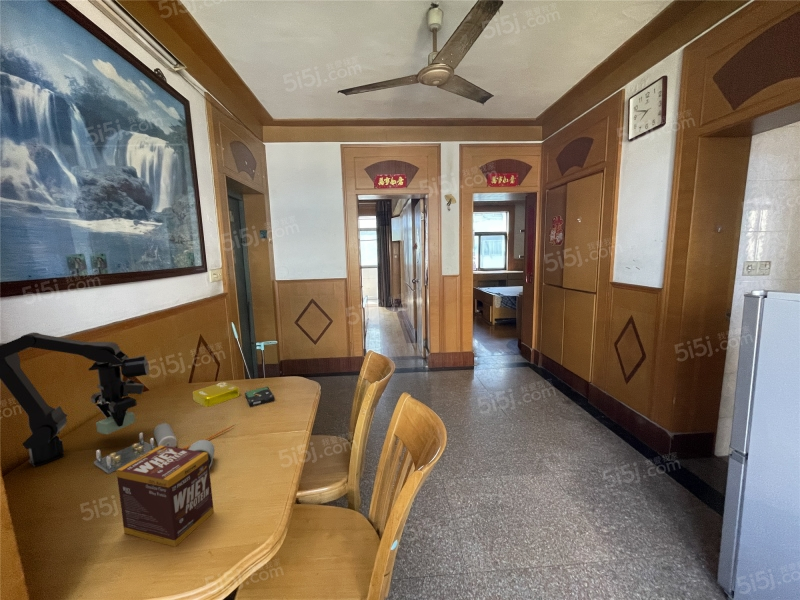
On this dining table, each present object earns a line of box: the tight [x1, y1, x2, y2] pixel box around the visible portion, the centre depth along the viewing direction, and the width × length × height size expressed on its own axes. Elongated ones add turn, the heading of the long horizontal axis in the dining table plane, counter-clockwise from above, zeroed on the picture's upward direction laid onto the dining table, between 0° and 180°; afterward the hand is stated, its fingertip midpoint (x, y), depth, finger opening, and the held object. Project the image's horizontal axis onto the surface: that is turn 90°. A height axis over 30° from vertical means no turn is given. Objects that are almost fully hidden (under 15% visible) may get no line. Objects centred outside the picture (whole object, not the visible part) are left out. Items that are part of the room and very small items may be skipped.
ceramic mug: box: [188, 439, 216, 469], centre depth 96 cm, size 11×8×8 cm
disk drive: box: [244, 386, 276, 408], centre depth 147 cm, size 10×3×15 cm
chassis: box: [93, 432, 158, 475], centre depth 103 cm, size 13×10×4 cm
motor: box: [153, 422, 237, 449], centre depth 118 cm, size 23×22×5 cm
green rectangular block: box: [95, 410, 136, 435], centre depth 111 cm, size 8×5×4 cm, turn 163°
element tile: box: [192, 381, 240, 408], centre depth 149 cm, size 15×15×5 cm
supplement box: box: [115, 445, 215, 548], centre depth 76 cm, size 10×15×16 cm
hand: (116, 424), depth 111 cm, fingers closed on green rectangular block, 5 cm apart
